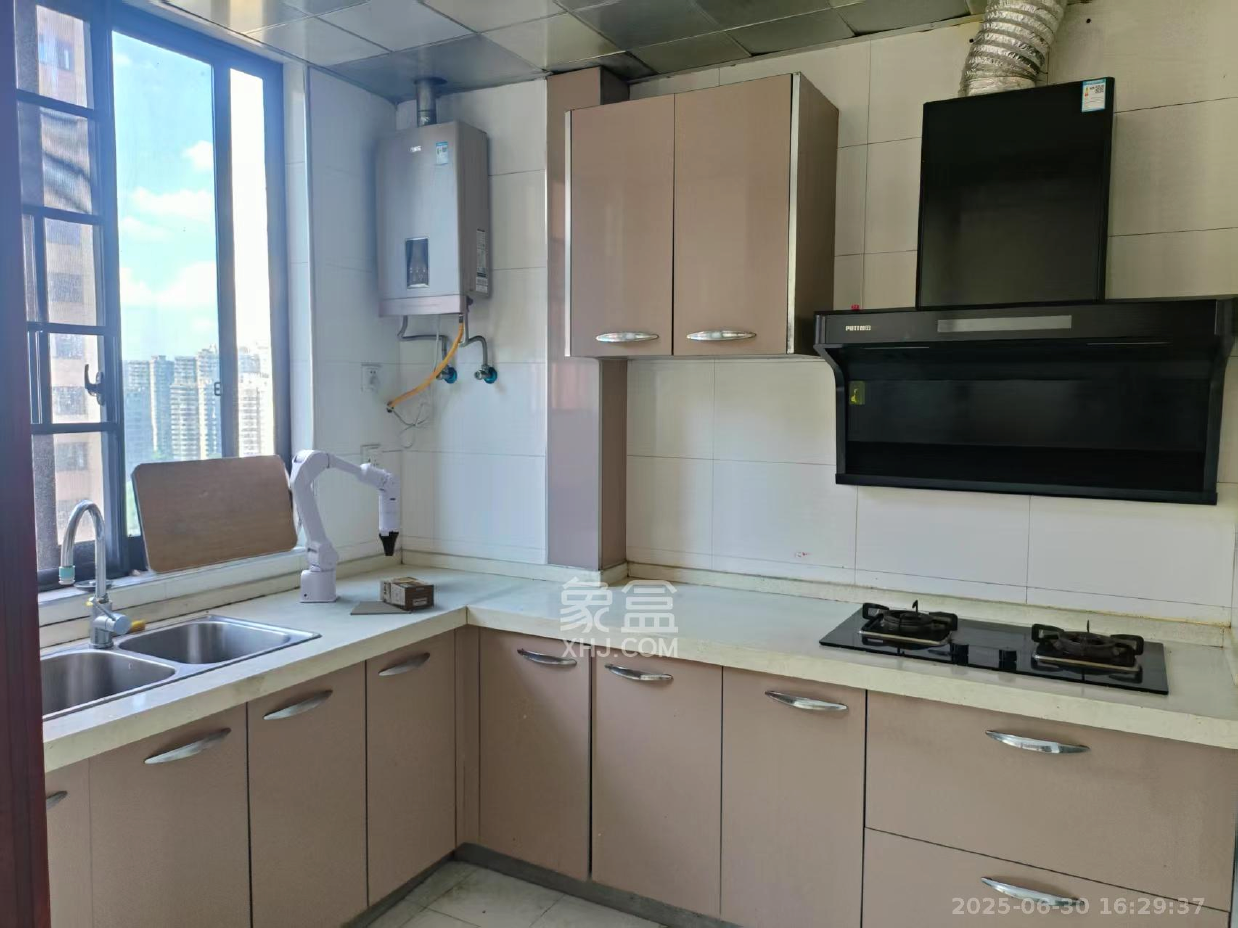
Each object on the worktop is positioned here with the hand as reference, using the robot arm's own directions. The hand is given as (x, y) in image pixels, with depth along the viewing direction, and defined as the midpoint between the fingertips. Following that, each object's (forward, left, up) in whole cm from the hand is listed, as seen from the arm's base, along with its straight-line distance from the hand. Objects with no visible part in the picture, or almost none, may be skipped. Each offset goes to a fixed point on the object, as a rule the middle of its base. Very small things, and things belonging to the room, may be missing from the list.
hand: (389, 555), depth 264 cm
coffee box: (+4, -16, -7) cm, 18 cm away
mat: (+3, -26, -10) cm, 28 cm away
